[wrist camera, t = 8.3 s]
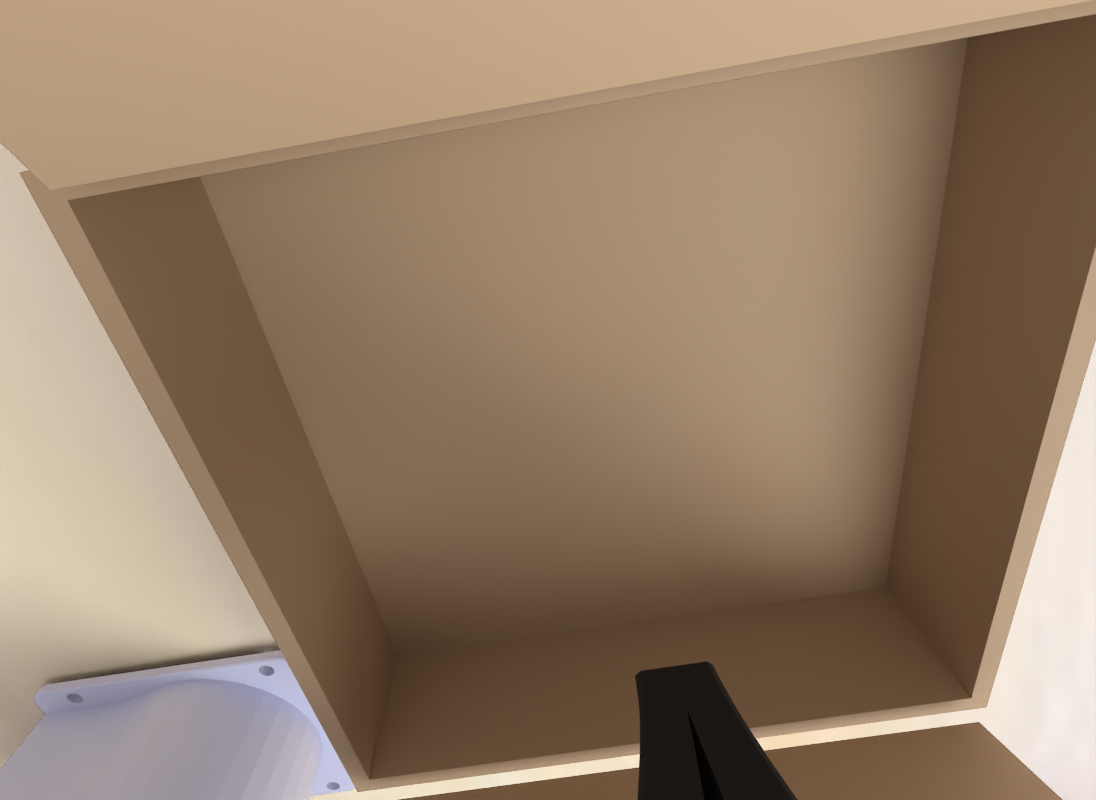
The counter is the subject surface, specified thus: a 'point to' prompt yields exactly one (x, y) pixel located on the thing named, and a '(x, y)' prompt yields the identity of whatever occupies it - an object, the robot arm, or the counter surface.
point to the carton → (629, 388)
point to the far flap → (841, 772)
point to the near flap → (369, 64)
